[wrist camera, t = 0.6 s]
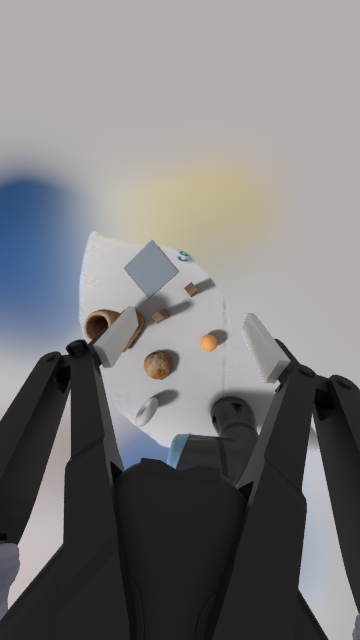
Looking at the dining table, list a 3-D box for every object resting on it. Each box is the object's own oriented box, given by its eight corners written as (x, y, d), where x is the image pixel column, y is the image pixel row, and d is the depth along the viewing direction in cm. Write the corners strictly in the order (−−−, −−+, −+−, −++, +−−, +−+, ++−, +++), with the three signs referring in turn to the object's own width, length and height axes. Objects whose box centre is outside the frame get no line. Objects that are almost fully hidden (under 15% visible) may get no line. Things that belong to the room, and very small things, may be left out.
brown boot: (124, 301, 48) (93, 300, 34) (149, 321, 48) (129, 329, 34) (103, 331, 51) (65, 343, 36) (127, 351, 51) (98, 370, 36)
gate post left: (169, 315, 47) (163, 317, 38) (164, 319, 47) (156, 323, 39) (164, 309, 47) (157, 311, 38) (159, 314, 47) (151, 316, 39)
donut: (146, 410, 53) (135, 435, 44) (140, 404, 53) (127, 427, 43) (163, 396, 52) (155, 418, 42) (157, 390, 52) (147, 411, 42)
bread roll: (169, 347, 53) (161, 346, 45) (177, 374, 49) (170, 376, 42) (148, 356, 54) (137, 356, 47) (154, 382, 51) (143, 386, 43)
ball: (219, 341, 46) (222, 346, 41) (206, 350, 47) (208, 357, 42) (209, 329, 46) (211, 333, 41) (197, 339, 47) (197, 343, 42)
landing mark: (178, 272, 45) (178, 271, 45) (148, 298, 47) (148, 298, 47) (152, 239, 44) (152, 239, 44) (123, 268, 47) (123, 268, 47)
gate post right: (197, 292, 45) (197, 289, 36) (191, 296, 45) (190, 295, 36) (192, 286, 45) (191, 282, 36) (186, 291, 45) (184, 288, 36)
